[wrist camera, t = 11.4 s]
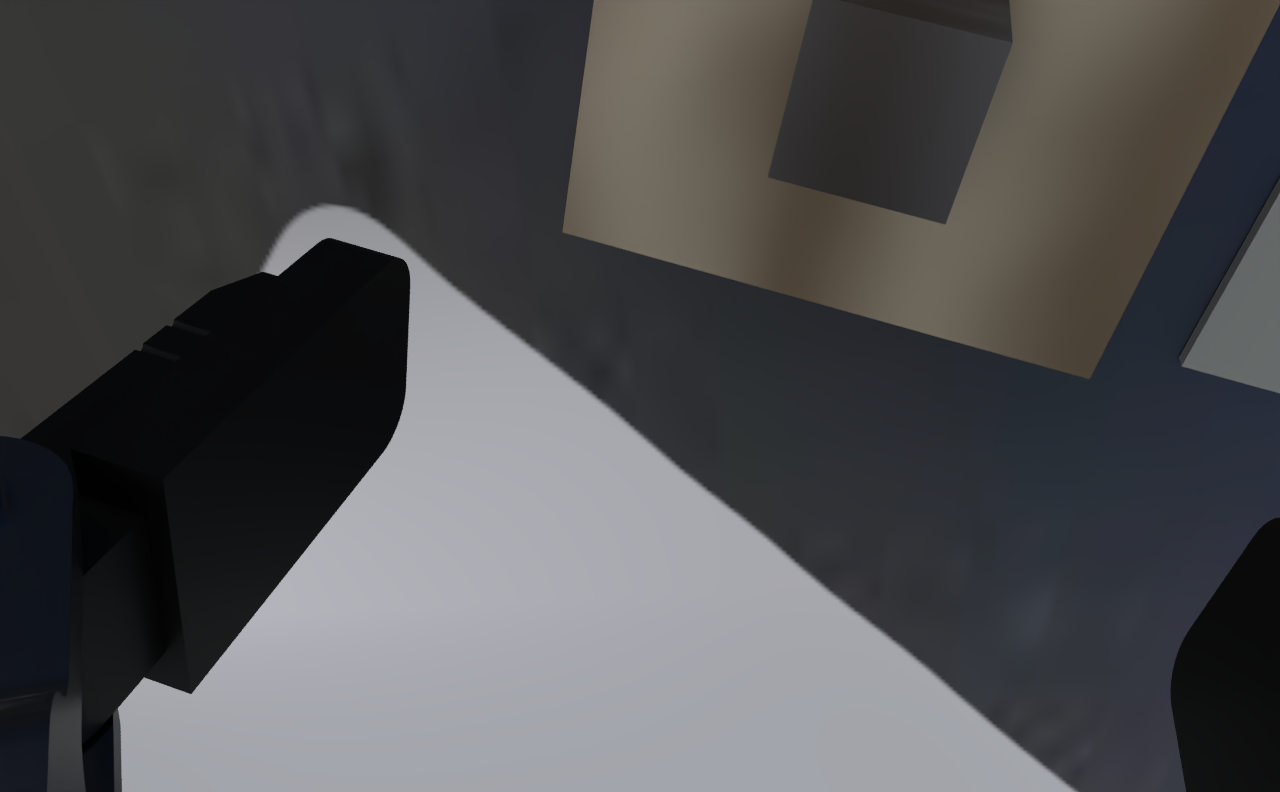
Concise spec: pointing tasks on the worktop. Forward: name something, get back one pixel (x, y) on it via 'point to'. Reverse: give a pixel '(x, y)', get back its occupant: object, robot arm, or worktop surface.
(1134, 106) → the lid
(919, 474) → the worktop surface
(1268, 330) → the mat
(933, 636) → the worktop surface
